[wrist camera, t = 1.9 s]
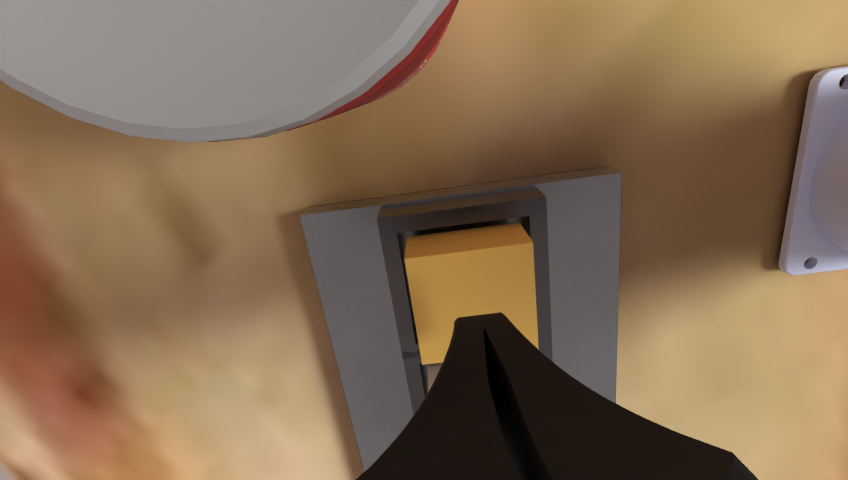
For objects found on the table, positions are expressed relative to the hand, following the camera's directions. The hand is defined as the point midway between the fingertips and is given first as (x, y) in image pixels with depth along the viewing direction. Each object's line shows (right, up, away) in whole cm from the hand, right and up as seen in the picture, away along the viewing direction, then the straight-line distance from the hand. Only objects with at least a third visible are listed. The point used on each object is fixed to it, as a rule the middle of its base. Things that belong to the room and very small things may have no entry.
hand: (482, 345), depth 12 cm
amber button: (0, +1, +4) cm, 4 cm away
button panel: (+1, -3, +8) cm, 8 cm away
